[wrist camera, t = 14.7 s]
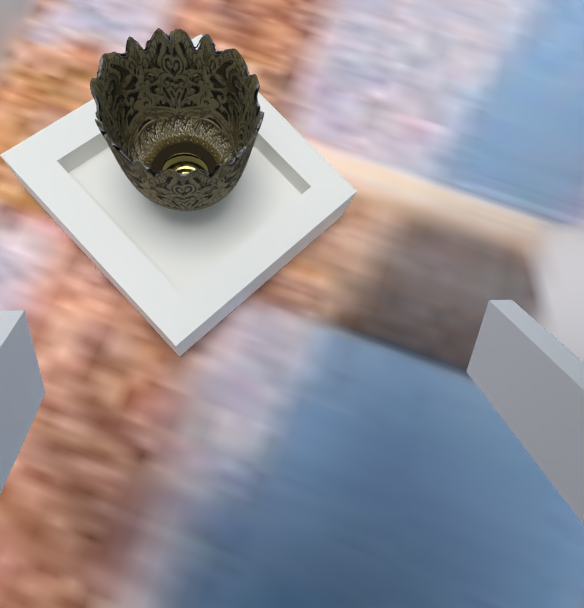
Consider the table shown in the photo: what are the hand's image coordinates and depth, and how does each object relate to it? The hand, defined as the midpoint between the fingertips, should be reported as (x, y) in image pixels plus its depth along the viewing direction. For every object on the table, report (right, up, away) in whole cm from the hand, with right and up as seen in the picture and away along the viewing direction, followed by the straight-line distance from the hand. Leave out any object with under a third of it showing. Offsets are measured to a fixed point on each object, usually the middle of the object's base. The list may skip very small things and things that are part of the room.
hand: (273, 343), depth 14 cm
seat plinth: (-6, +8, +16) cm, 19 cm away
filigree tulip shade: (-6, +8, +14) cm, 17 cm away
